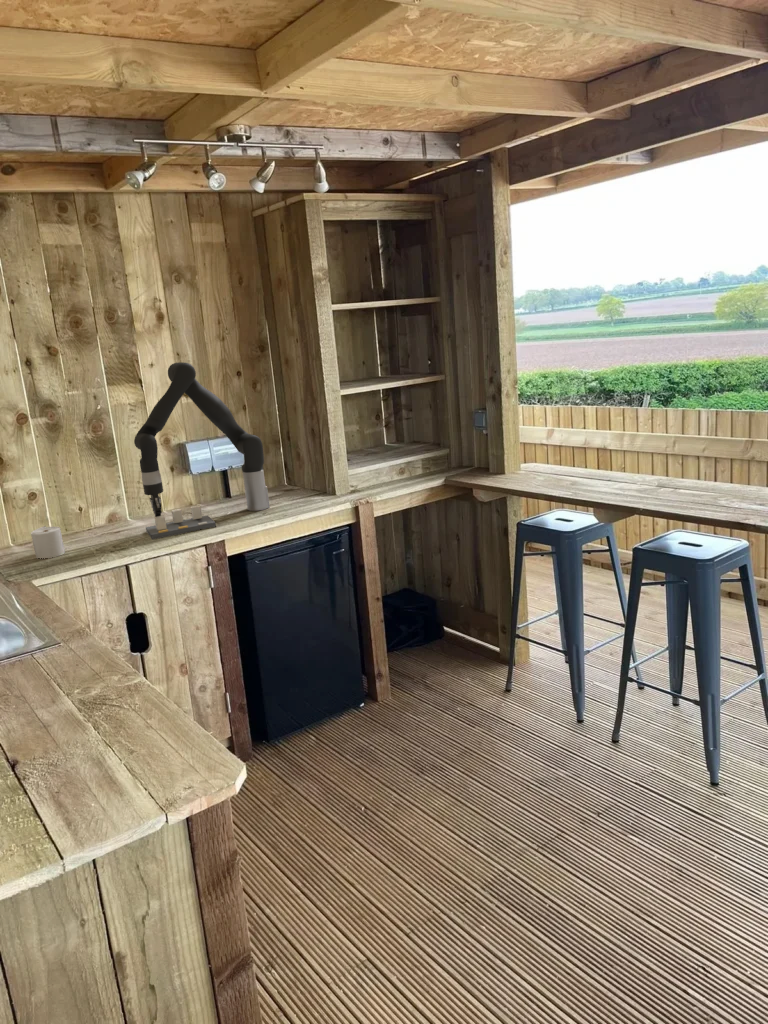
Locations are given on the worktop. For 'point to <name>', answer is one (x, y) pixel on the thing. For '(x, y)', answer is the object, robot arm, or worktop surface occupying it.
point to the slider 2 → (196, 512)
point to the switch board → (181, 527)
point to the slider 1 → (160, 522)
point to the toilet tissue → (47, 542)
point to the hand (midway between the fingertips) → (159, 522)
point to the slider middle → (177, 515)
